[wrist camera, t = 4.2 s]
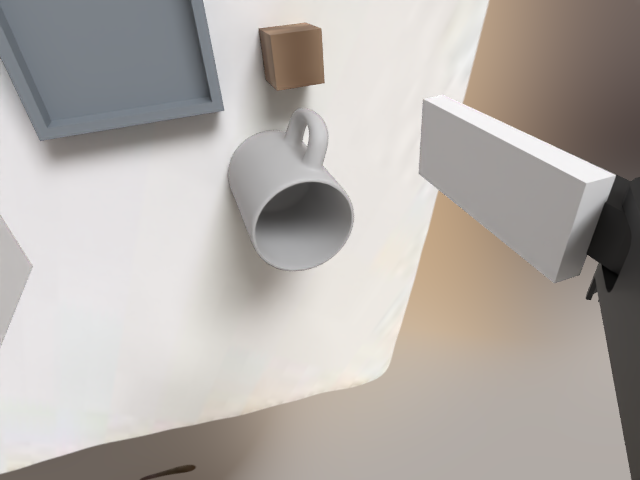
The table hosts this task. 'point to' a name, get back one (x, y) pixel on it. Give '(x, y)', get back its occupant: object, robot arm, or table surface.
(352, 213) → the mug
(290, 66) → the walnut block
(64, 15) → the tray
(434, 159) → the robot arm
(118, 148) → the table surface
